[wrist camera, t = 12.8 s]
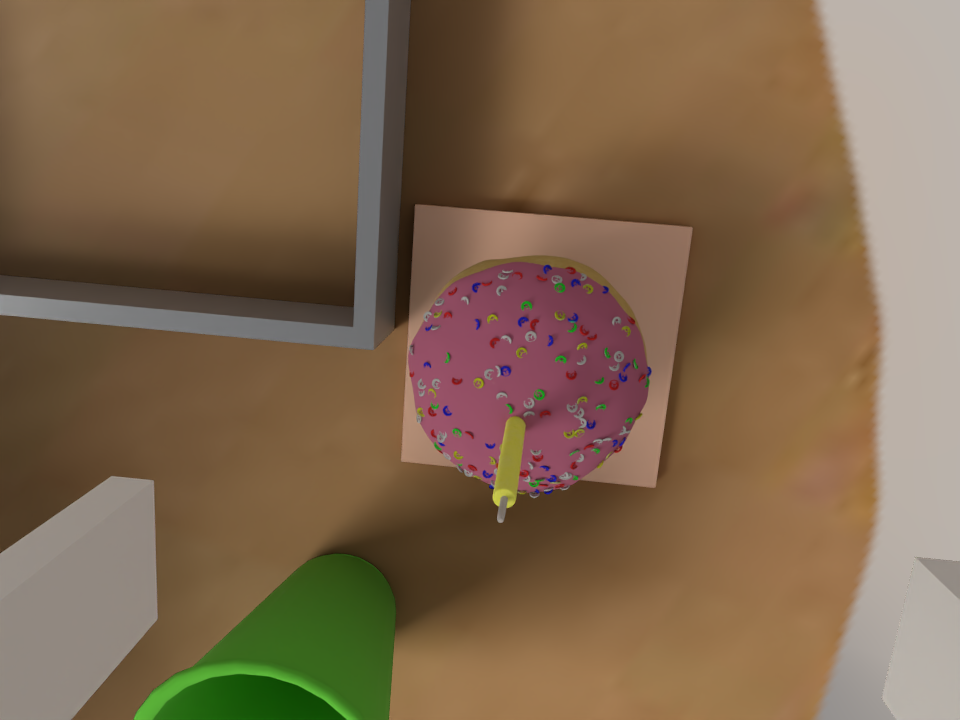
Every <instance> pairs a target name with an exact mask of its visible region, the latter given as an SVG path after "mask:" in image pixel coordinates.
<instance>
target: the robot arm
mask: <svg viewBox="0 0 960 720" xmlns="http://www.w3.org/2000/svg"><path fill="white" fill-rule="evenodd" d="M157 619H158V614H157V578H156V541H155V505H154V480H146V479H136V478H126V477H116V476H111V477H110V478H108V479H107V480H105V481H104V482H102V483H101V484H99V485H98V486H97V487H95V488H94V489H92V490H91V491H89V492H88V493H86V494H85V495H84V496H82V497H81V498H79V499H78V500H76V501H75V502H74V503H72V504H71V505H69V506H68V507H66V508H65V509H63V510H62V511H61V512H59V513H58V514H56V515H55V516H53V517H52V518H50V519H49V520H48V521H46V522H45V523H43V524H42V525H40V526H39V527H38V528H36V529H35V530H33V531H32V532H30V533H29V534H27V535H26V536H25V537H23V538H22V539H20V540H19V541H17V542H16V543H14V544H13V545H12V546H10V547H9V548H7V549H6V550H4V551H3V552H2V553H0V720H71V719H72V718H73V717H74V716H75V715H76V714H77V712H78V711H79V710H80V709H81V708H82V707H83V705H84V704H85V703H86V702H87V701H88V700H89V698H90V697H91V696H92V695H93V694H94V693H95V691H96V690H97V689H98V688H99V687H100V686H101V684H102V683H103V682H104V681H105V680H106V679H107V678H108V676H109V675H110V674H111V673H112V672H113V671H114V669H115V668H116V667H117V666H118V665H119V664H120V662H121V661H122V660H123V659H124V658H125V657H126V655H127V654H128V653H129V652H130V651H131V650H132V648H133V647H134V646H135V645H136V644H137V643H138V641H139V640H140V639H141V638H142V637H143V636H144V634H145V633H146V632H147V631H148V630H149V629H150V627H151V626H152V625H153V624H154V623H155V622H156V620H157ZM882 699H883V701H884V703H885V704H886V706H887V707H888V709H889V710H890V711H891V713H892V714H893V716H894V717H895V719H896V720H960V561H950V560H940V559H930V558H920V557H915V560H914V564H913V568H912V572H911V576H910V581H909V585H908V589H907V593H906V598H905V602H904V606H903V611H902V615H901V619H900V623H899V627H898V631H897V636H896V640H895V644H894V649H893V652H892V657H891V661H890V666H889V669H888V674H887V678H886V682H885V686H884V691H883V695H882Z"/></svg>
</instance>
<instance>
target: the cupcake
mask: <svg viewBox="0 0 960 720" xmlns="http://www.w3.org/2000/svg"><path fill="white" fill-rule="evenodd" d="M423 318H424V320H423V322H422V324H421V326H420V328H419V330H418V332H417V334H416V336H415V337H414V339H413V341H412V343H411V345H410V346H409V353H408V365H409V372H410V373H409V376H410V377H411V382H412V387H413V393H414V401H415V408H416V412H417V417H416V419H417V422H418V423H420V424H421V426H422V428H423V430H424V432H425V433H426V435H427V436H428V438H429V439H430V440H431V442H432V443H433V444H434V447H435V448H436V449H437V450H438V451H439V452H440V453H441V454H443V455H444V457H445V458H446V459H448V460H450V461H451V462H452V463H453V464H455V465H456V466H457V468H458V470H459V471H460V472H461V473H462V472H463V471H464V473H465V475H466V476H468V477H471V476H473V477H474V478H476V479H479V480H481V481H484V482H486V483H488V484H491V485H489V488H491V489H494V491H493V501H494V503H495V504H496V505H497V506H499V509H498V515H497V521H498V522H499V523H502V522H503V521H504V519H505V514H506V508H509V507H511V506H513V505H514V503H515V502H516V497H517V492H518V493H519V494H526V493H530V496H531V497H533V498H536V497H538V496H539V495H540V493H539V492H543V491H544V493H545V494H550V493H551V492H552V491H553V490H555V489H562V490H567V489H568V488H569V487H570V485H572V484H574V483H576V482H577V481H579V480H580V479H582V478H583V477H584V476H586V475H587V474H589V473H590V472H591V471H593V470H594V469H595V468H600V467H601V466H602V465H603V463H604V461H605V460H607V459H608V458H609V457H610V456H611V455H612V454H613V453H618V452H620V451H621V450H622V445H623V444H624V442H625V441H626V439H627V437H628V435H629V433H630V432H631V429H632V427H633V425H634V423H635V421H636V420H638V419H639V418H640V417H641V416H642V413H640V412H641V411H642V409H643V407H644V405H645V404H646V401H647V397H648V389H649V384H650V380H649V376H650V375H651V372H652V371H651V368H650V367H648V364H647V353H646V346H645V342H644V339H643V335H642V332H641V330H640V327H639V324H638V322H637V320H636V317H635V315H634V313H633V311H632V309H631V307H630V306H629V304H628V303H627V302H626V301H625V299H624V298H623V297H622V296H621V295H620V294H619V293H618V292H617V291H616V290H615V289H614V287H613V286H612V285H611V284H610V283H609V282H608V281H607V280H606V279H605V278H604V277H603V276H602V275H601V274H599V273H598V272H597V271H595V270H594V269H592V268H591V267H589V266H587V265H584V264H582V263H579V262H576V261H574V260H571V259H568V258H563V257H557V256H547V255H533V256H522V257H513V258H506V259H490V260H485V261H482V262H479V263H477V264H475V265H473V266H471V267H469V268H467V269H465V270H463V271H462V272H460V273H459V274H457V275H456V276H454V277H453V278H452V279H451V280H450V281H449V282H448V283H447V284H446V285H445V286H444V287H443V289H442V290H441V291H440V293H439V294H438V296H437V298H436V299H435V301H434V303H433V305H432V306H431V308H430V310H429V312H426V313H425V314H424V316H423ZM648 371H649V372H648ZM418 419H419V420H418ZM619 448H620V449H619ZM618 449H619V450H618ZM600 464H601V465H600ZM599 465H600V466H599ZM462 470H463V471H462ZM467 473H468V474H467ZM565 487H566V488H565ZM546 491H549V492H546ZM532 493H534V494H535V493H537V494H535V496H534V494H532Z"/></svg>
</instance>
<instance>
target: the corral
mask: <svg viewBox="0 0 960 720" xmlns="http://www.w3.org/2000/svg"><path fill="white" fill-rule="evenodd" d="M410 8H411V0H365V24H364V51H363V79H362V106H361V133H360V160H359V187H358V214H357V241H356V268H355V295H354V307H346V306H335V305H324V304H313V303H302V302H291V301H280V300H269V299H258V298H247V297H236V296H225V295H214V294H203V293H192V292H181V291H170V290H159V289H148V288H137V287H126V286H116V285H105V284H94V283H83V282H72V281H61V280H50V279H39V278H28V277H17V276H6V275H0V315H8V316H18V317H29V318H40V319H50V320H61V321H71V322H82V323H92V324H103V325H114V326H124V327H135V328H145V329H156V330H166V331H177V332H188V333H198V334H209V335H219V336H230V337H240V338H251V339H262V340H272V341H283V342H293V343H304V344H314V345H325V346H336V347H346V348H357V349H367V350H374V349H375V348H376V347H377V346H378V345H379V344H380V343H381V342H382V341H383V340H384V339H385V338H386V337H387V336H388V335H389V334H390V333H391V332H392V331H393V330H394V325H395V306H396V286H397V266H398V246H399V226H400V207H401V187H402V167H403V147H404V127H405V107H406V88H407V68H408V48H409V28H410Z"/></svg>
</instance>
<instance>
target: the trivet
mask: <svg viewBox="0 0 960 720" xmlns="http://www.w3.org/2000/svg"><path fill="white" fill-rule="evenodd" d="M692 230H693V227H690V226H678V225H666V224H654V223H641V222H629V221H617V220H605V219H593V218H581V217H568V216H556V215H544V214H532V213H520V212H508V211H495V210H483V209H471V208H459V207H447V206H435V205H422V204H415V217H414V235H413V253H412V271H411V289H410V308H409V326H408V344H407V362H406V380H405V398H404V417H403V435H402V453H401V462H411V463H421V464H430V465H440V466H449V467H457V466H456V465H455V464H453V463H452V462H451V461H450V460H448V459H446V458H445V457H444V455H443V454H441V453H440V452H439V451H438V450H437V449H436V448H435V447H434V444H433V443H432V442H431V440H430V439H429V438H428V436H427V435H426V433H425V432H424V430H423V428H422V426H421V424H420V423H418V422H417V419H416V417H417V412H416V408H415V401H414V393H413V387H412V382H411V377H410V376H409V373H410V372H409V365H408V353H409V346H410V345H411V343H412V341H413V339H414V337H415V336H416V334H417V332H418V330H419V328H420V326H421V324H422V322H423V320H424V318H423V316H424V314H425V313H426V312H429V310H430V308H431V306H432V305H433V303H434V301H435V299H436V298H437V296H438V294H439V293H440V291H441V290H442V289H443V287H444V286H445V285H446V284H447V283H448V282H449V281H450V280H451V279H452V278H453V277H454V276H456V275H457V274H459V273H460V272H462V271H463V270H465V269H467V268H469V267H471V266H473V265H475V264H477V263H479V262H482V261H485V260H490V259H506V258H513V257H522V256H533V255H547V256H557V257H563V258H568V259H571V260H574V261H576V262H579V263H582V264H584V265H587V266H589V267H591V268H592V269H594V270H595V271H597V272H598V273H599V274H601V275H602V276H603V277H604V278H605V279H606V280H607V281H608V282H609V283H610V284H611V285H612V286H613V287H614V289H615V290H616V291H617V292H618V293H619V294H620V295H621V296H622V297H623V298H624V299H625V301H626V302H627V303H628V304H629V306H630V307H631V309H632V311H633V313H634V315H635V317H636V320H637V322H638V324H639V327H640V330H641V332H642V335H643V339H644V342H645V346H646V353H647V364H648V367H650V368H651V371H652V372H651V375H650V376H649V380H650V384H649V389H648V397H647V401H646V404H645V405H644V407H643V409H642V411H641V412H640V413H642V416H641V417H640V418H639V419H638V420H636V421H635V423H634V425H633V427H632V429H631V432H630V433H629V435H628V437H627V439H626V441H625V442H624V444H623V445H622V450H621V451H620V452H618V453H613V454H612V455H611V456H610V457H609V458H608V459H607V460H605V461H604V463H603V465H602V466H601V467H600V468H595V469H594V470H593V471H591V472H590V473H589V474H587V475H586V476H584V477H583V478H582V479H580V480H585V481H594V482H604V483H614V484H623V485H633V486H642V487H652V488H655V487H656V480H657V473H658V467H659V460H660V453H661V446H662V439H663V432H664V425H665V418H666V411H667V404H668V397H669V390H670V383H671V376H672V369H673V362H674V355H675V349H676V342H677V335H678V328H679V321H680V314H681V307H682V300H683V293H684V286H685V279H686V272H687V265H688V258H689V251H690V244H691V237H692ZM648 372H649V371H648ZM418 420H419V419H418ZM619 449H620V448H619ZM619 449H618V450H619ZM600 465H601V464H600ZM600 465H599V466H600Z"/></svg>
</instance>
